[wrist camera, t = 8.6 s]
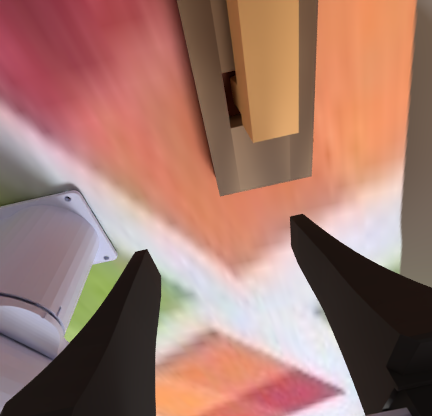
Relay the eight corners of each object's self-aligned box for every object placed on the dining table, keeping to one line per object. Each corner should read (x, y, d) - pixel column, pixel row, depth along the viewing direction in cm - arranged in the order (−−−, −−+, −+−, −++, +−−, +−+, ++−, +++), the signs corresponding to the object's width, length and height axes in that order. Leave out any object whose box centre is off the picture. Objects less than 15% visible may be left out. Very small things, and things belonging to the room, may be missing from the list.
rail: (216, 180, 21) (220, 196, 19) (115, -278, 9) (96, -363, 7) (299, 161, 21) (311, 176, 19) (300, -330, 9) (333, -433, 7)
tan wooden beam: (234, 112, 18) (253, 142, 13) (204, -97, 12) (217, -181, 7) (267, 104, 18) (298, 132, 13) (253, -109, 12) (299, -203, 7)
